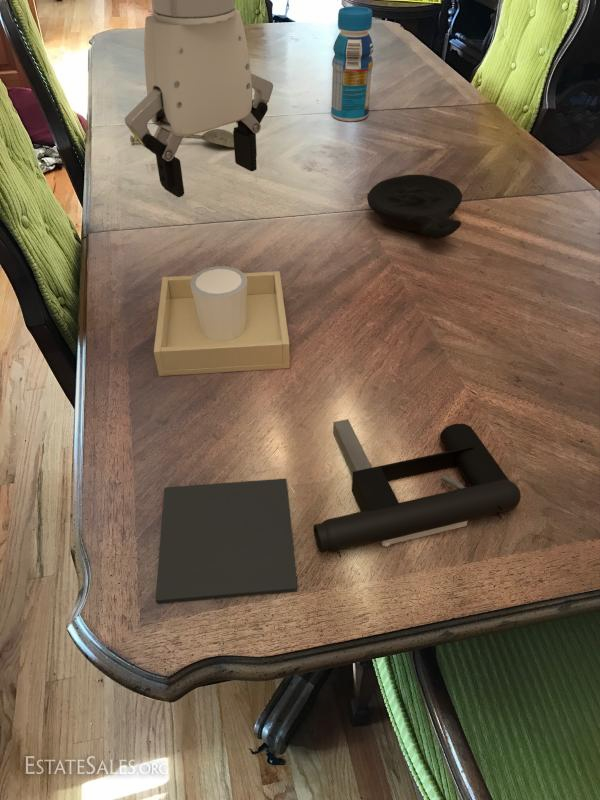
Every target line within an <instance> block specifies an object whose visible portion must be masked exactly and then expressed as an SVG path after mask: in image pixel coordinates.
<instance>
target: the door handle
mask: <svg viewBox="0 0 600 800" xmlns="http://www.w3.org/2000/svg"><path fill="white" fill-rule="evenodd" d="M332 434H333V437H334V438H335V441H336V443H337V445H338V448H339V450H340V452H341V453H342V456H343V458H344V461H345V462H346V464H347V467H348V469H349V471H350V474H351V476H352V478H351V479H352V480H351V493H352V495H353V498H354V500H355V502H356V504H357V506H358V509H359V511H358V512H353V513H349V514H344V515H341V516H336V517H331V518H328V519H325V520H323V521H322V522H320V523H316V524H313V535H314V536H313V537H314V541H315V544H316V547H317V550H318V552H319V553H321V554H323V553H326V552H327V553H331V554H332V553H333V554H334V553H336V554H338V557H339V558H342V554H341V552H343V551H347V550H352V549H356V548H359V547H364V546H368V545H373V544H376V543H380V544H381V546H382V547H385V548H388V547H389V546H390V545H393V544H398V543H402V542H406V541H411V540H415V539H417V538H418V539H419V538H422V537H427V536H430V535H436V534H440V533H443V532H448V531H451V530H452V531H453V530H456V529H459V528H463V527H467V525H468V521H473V520H476V519H481V518H485V517H488V516H494V515H497V516H498V517H499V519H500V520H501V521H502V522H504V520H503V518H502V516H501V513H502V514H503V515H505V516H506V514H505V512H508V511H512V510H514V509H515V508H517V507H518V505H519V504H520V502H521V497H522V496H521V491H520V488H519V487H518V485H517V484H516V483H515V482H514V481H512V480H510V479H509V478H508V476H507V475H506V474H505V472H504V470H502V468H501V466H500V465H499V463H498V462H497V461H496V460H495V458H494V457H493V455H492V453H491V452H490V451H489V449H488V448H487V447H486V445H485V444H484V443H483V441H482V440H481V438H479V436H478V434H477V433H476V431H475V429H473V428H472V426H470V425H468V424H466V423H453V424H450V425H448V426H446V427H445V428H443V429H442V430H441V432H440V434H439V439H440V442H441V443H442V445H443V446H444V449H446V451H444V452H443V451H442V452H439V453H434V454H430V455H424V456H419V457H415V458H411V459H407V460H401V461H396V462H392V463H388V464H387V463H386V464H383V465H382V464H381V465H378V466H372V464H371V462H370V460H369V458H368V456H367V454H366V452H365V450H364V448H363V446H362V444H361V443H360V440H359V438H358V436H357V433H356V432H355V430H354V428H353V425H352V424H351V422H350V420H349V418H348V419H342V420H341V419H340V420H338V421H333V425H332ZM456 467H457V468H458V469H459V471H460V473H461V474H462V476H463V478H464V479H465V481H466V483H467V484H468V485H469V486H467V487H466V486H464V485H463V484H462V483H461V482H460V481H457V480H456V479H455V478H452V477H451V476H449V475H447V474H445V473H442V475H441V476H440V481H442V482H445V483H446V484H448V485H449V486H452V487H454V488H455V489H453V490H450V491H445V492H441V493H437V494H436V493H435V494H432V495H427V496H423V497H418V498H414V499H410V500H406V501H401V502H400V501H399V500H398V498H397V496H396V494H395V492H394V489H393V487H392V486H391V484H390V482H393V481H397V480H404V479H407V478H412V477H415V476H421V475H424V474H429V473H434V472H438V471H443V470H447V469H452V468H456Z"/></svg>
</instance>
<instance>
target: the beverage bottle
mask: <svg viewBox="0 0 600 800" xmlns="http://www.w3.org/2000/svg"><path fill="white" fill-rule="evenodd" d="M372 23H373V10H372V9H371V8H369V7H365V6H357V5H355V6H354V5H353V6H352V5H351V6H344V7H341V8H339V10H338V13H337V28H338V30H339V31H340V32H339V34H337V36H336V38H335V41H334V43H333V49H332V50H333V52H334V56H333V58H332V60H331V61H332V62H331V67H332V79H331V107H330V114H331V116H332V117H333V118H334V119H336V120H339V121H341V122H342V121H343V122H359V121H362V120H364V119H366V118H367V117H368V116H369V109H370V94H371V82H372V69H373V67H374V60H373V56H372V54H373V53H374V44H373V40H372V37H371V36H370V34H369V31H371V29H372V25H373V24H372Z"/></svg>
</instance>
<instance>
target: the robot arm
mask: <svg viewBox="0 0 600 800" xmlns="http://www.w3.org/2000/svg"><path fill="white" fill-rule="evenodd" d="M151 6H152V14H151V15H148V16H146V17H145V23H144V41H143V44H144V47H143V48H144V49H143V52H144V53H143V54H144V72H145V73H144V74H145V85H146V96H145V97H144V98H143V99H142V100H141V101H140V102H139V103H138V104H137V105H136V106H135V107H134V108H133V109H132V110H131V111H130V112H129V113H128V114H127V115H126V116H125V117H124V122H125V125H126V126H127V128H128V129H129V131H130V132H131V134H132V136H133V137H134V136H135V137H136V138H137V143H138V144H140V145H142V146H143V147H144V148H146V149H147V150H149V151H150V153H152V154H154V155H155V159H156V165H157V171H158V172H157V173H158V177H159V183H160V184H161V187H163V189H164V190H165V191H167V192H168V193H170V194H172V195H173V196H175V197H176V198H181V197H184V195H185V188H184V180H183V179H184V178H183V172H182V164H181V160H180V158H178V157H176V153H177V150H178V149H179V147H180V145H181V143H182V141H183V139H184V138H183V137H186V136H190V135H199V134H200V133H205V132H208V131H210V130H214V129H219V128H221V127H225V126H228V125H231V124H236V125H237V126H235V127H233V131H232V134H233V137H234V147H233V150H234V162H235V164H236V165H238V166H239V167H242V168H243V169H245V170H246V171H249V172H255V171H256V170H257V168H258V166H257V155H258V153H257V134H259V132H260V131H261V129H262V128H261V123H262V121H263V119H264V117H265V116H266V114H267V112H268V109H269V108H268V107H269V106H268V103H270V100H271V96H272V93H273V89H274V84H273V82H271V81H270V80H267V79H265V78H262V77H260V76H258V75H256V74H254V73H252V70H251V63H250V62H251V61H250V55H249V54H250V53H249V47H248V43H247V42H248V41H247V36H246V32H245V31H246V30H245V26H244V23H243V19H242V15H241V12H240V10H239V9H237V8H236V0H151ZM253 90H254V95H253ZM150 120H151V122H152V123H153V124H154V125H155V126H157V128H156V130H155V133H154V134H152V133H151V132H150V130H149V128H148V123H149V122H150ZM168 136H169V137H168Z"/></svg>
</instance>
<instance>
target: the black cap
mask: <svg viewBox="0 0 600 800" xmlns="http://www.w3.org/2000/svg"><path fill="white" fill-rule="evenodd" d="M366 199H367V203H368V206H369V208H370V209H371V211H372V212H373V213H374V214H375V215H376V217H378V218H379V219H380V220H381V221H383V222H385V223H386V224H389V225H391V226H393V227H395V228H398V229H402V230H405V231H409V232H414V233H419V234H420V235H424V236H426V237H428V238H430V239H432V240H433V239H435V240H439V239H443V238H447V237H448V236H450V235H452V234H454V233H455V232H457V230H458V229H459V228H460V227H461V225H462V222H461V221H460V220H454V219H451V217H452V216H453V215H454V214H455V213H456V211H457V209H458V208H459V206H460V205H461V203H462V201H463V193H462V191H461V189H460V188H459V187H458V186H457V185H456V184H454V183H452V182H451V181H450V180H448V179H444V178H439V177H437V176H433V175H426V174H405V175H398V176H395V177H389V178H386V179H384V180H381V181H380V182H378V183H376V184H375V185H374V186H372V188H371V189H370V191H368V193H367V196H366Z"/></svg>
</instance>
